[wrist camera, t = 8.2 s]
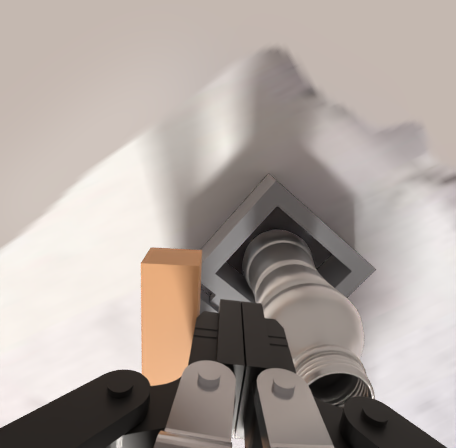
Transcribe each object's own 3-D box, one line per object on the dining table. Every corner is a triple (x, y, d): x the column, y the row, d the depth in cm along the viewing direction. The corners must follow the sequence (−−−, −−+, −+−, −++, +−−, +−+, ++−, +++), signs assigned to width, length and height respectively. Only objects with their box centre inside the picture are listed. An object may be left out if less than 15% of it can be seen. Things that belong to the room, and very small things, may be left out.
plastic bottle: (228, 246, 35) (234, 387, 15) (286, 211, 34) (370, 314, 15) (261, 295, 36) (303, 481, 17) (317, 263, 35) (430, 419, 16)
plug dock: (355, 250, 35) (535, 412, 15) (218, 386, 39) (212, 661, 19) (268, 173, 33) (340, 238, 13) (133, 325, 37) (22, 560, 17)
